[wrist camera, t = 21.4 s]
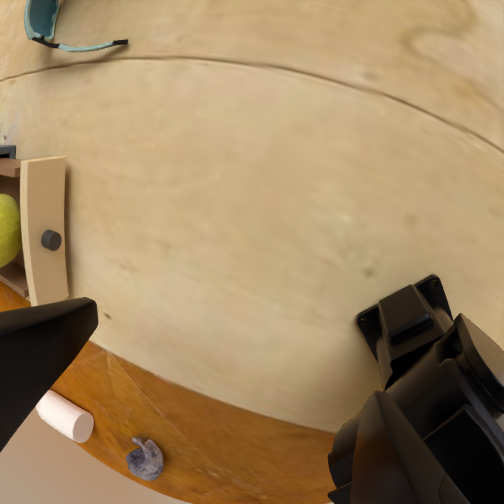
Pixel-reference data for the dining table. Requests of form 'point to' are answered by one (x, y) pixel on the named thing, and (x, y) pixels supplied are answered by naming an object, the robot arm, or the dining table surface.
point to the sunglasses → (51, 26)
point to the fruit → (9, 229)
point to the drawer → (37, 228)
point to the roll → (65, 416)
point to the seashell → (145, 460)
